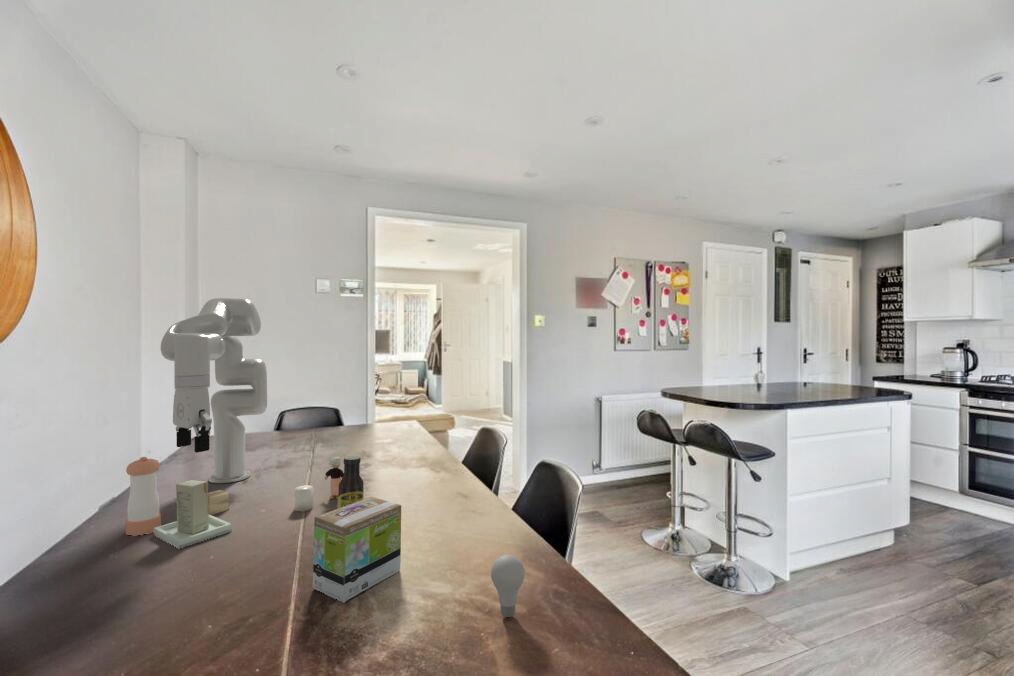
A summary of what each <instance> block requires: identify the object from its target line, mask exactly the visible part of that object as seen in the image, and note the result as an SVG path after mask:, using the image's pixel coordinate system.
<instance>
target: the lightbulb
mask: <svg viewBox="0 0 1014 676" xmlns="http://www.w3.org/2000/svg"><path fill="white" fill-rule="evenodd" d="M525 571H526V570H525V567H524V565H523V562H522V561H521V560H520V559H519V558H518V557H517V556H515V555H513V554H504V555H501V556H499V557H497V558H496V559H495V561H494V562H493V564H492V566H491V569H490V577H491V582H492V583H493V586H494V587H495V589H496V591H497V594H498V602H499V604H500V614H501V616H502V617H504V618H506V617H510V618H512V617H513V616H515V613H516V604H517V601H518V600H517V599H518V594H519V591H520V589H521V587H522V585H523V583H524V581H525V576H526V573H525Z"/></svg>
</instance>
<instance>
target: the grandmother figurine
mask: <svg viewBox="0 0 1014 676" xmlns="http://www.w3.org/2000/svg"><path fill="white" fill-rule="evenodd" d="M341 460H342V459H341V458H340V457H339V456H334V457H333V458H331V460H330V461H329V466H331V468H330V469H328V470H327V471H326V472H325V474H324V475H325V476H324V479H323V480H328V479H329V478H330V497H329V499H332V500H333V499H336V500H338V493H339V483H340V482H341V480H342V478H343V476H344V470H342V469H340V466H341V462H342V461H341Z"/></svg>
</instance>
